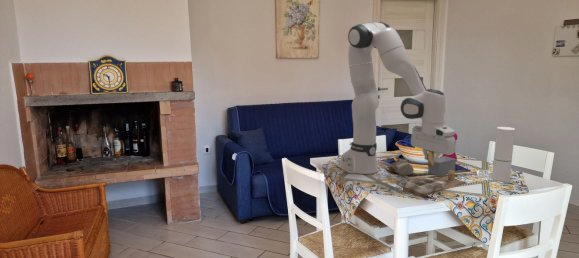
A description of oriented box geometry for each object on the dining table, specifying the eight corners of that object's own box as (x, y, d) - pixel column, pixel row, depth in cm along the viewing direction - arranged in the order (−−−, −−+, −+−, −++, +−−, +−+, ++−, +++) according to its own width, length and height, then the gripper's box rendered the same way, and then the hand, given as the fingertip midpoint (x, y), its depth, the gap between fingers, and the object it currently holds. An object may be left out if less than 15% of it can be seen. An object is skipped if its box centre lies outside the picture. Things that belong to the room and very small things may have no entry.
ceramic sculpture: (397, 160, 188) (386, 154, 203) (396, 179, 189) (386, 171, 204) (419, 160, 189) (407, 154, 204) (418, 178, 190) (406, 171, 205)
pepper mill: (457, 169, 204) (460, 130, 200) (442, 168, 205) (445, 130, 201) (454, 165, 211) (457, 127, 207) (440, 164, 212) (442, 127, 208)
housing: (427, 176, 194) (428, 159, 192) (443, 171, 200) (445, 156, 199) (438, 179, 189) (439, 162, 187) (454, 175, 195) (455, 159, 194)
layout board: (402, 190, 175) (403, 176, 174) (444, 178, 190) (445, 166, 188) (425, 198, 165) (426, 184, 164) (467, 186, 180) (468, 173, 178)
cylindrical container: (507, 180, 187) (513, 127, 182) (510, 185, 180) (516, 130, 175) (490, 179, 189) (495, 126, 184) (492, 183, 182) (498, 129, 177)
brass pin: (426, 165, 173) (427, 149, 172) (430, 164, 174) (431, 148, 173) (431, 167, 171) (432, 151, 170) (435, 166, 172) (436, 150, 171)
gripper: (408, 125, 176) (406, 156, 179) (448, 133, 159) (446, 167, 162) (417, 124, 180) (416, 154, 182) (458, 131, 163) (456, 164, 165)
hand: (430, 160), depth 172 cm, fingers closed on brass pin, 3 cm apart
